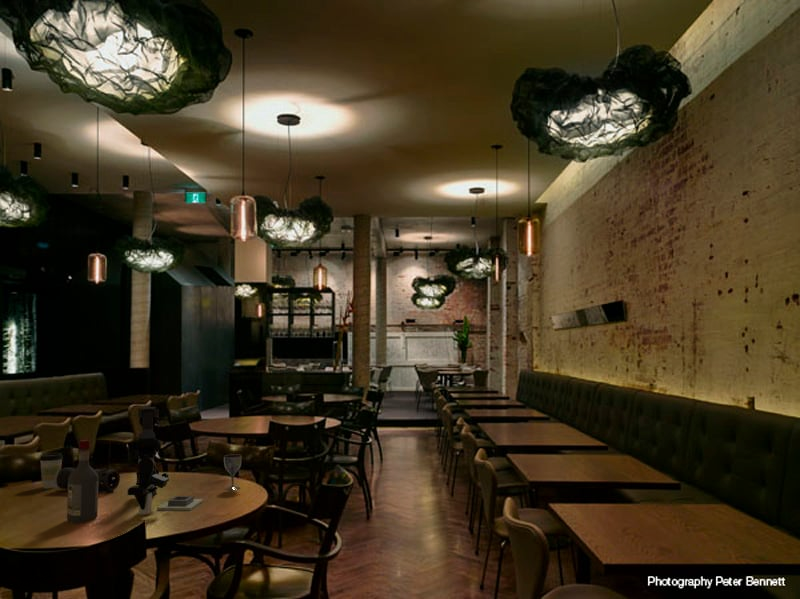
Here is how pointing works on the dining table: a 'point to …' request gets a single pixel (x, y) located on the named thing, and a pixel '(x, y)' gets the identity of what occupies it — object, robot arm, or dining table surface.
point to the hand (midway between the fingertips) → (145, 508)
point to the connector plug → (147, 505)
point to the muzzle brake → (103, 480)
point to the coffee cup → (50, 468)
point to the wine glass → (232, 467)
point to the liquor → (82, 489)
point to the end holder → (180, 503)
